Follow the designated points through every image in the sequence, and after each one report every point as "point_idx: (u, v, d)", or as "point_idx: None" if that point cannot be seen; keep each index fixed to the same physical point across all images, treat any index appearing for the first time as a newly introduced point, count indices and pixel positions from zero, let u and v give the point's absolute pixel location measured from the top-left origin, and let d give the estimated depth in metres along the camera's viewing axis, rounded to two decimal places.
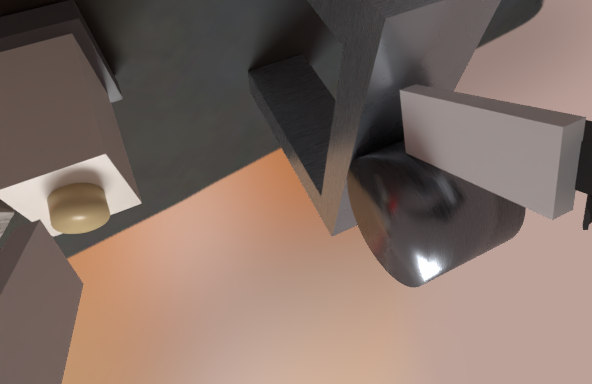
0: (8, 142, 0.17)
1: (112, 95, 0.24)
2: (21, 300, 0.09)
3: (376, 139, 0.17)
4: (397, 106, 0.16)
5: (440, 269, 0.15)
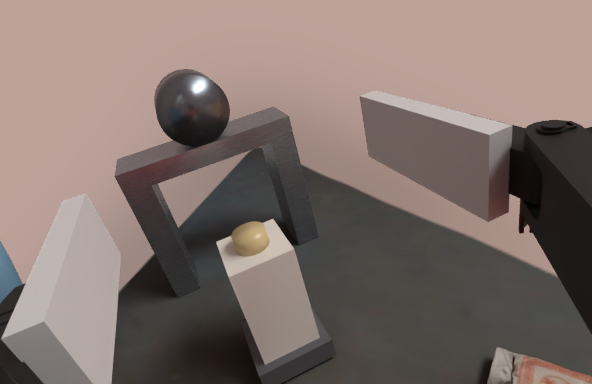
0: None
1: None
2: (81, 258, 0.10)
3: (185, 147, 0.36)
4: (165, 152, 0.36)
5: (172, 79, 0.33)
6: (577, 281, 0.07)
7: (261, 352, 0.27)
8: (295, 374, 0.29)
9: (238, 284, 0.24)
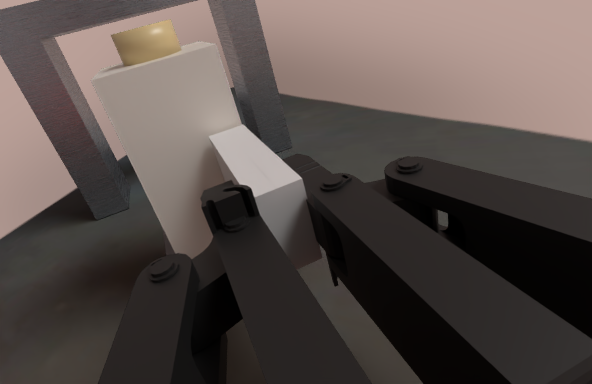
0: None
1: None
2: None
3: None
4: None
5: None
6: (401, 338, 0.07)
7: (174, 246, 0.17)
8: None
9: (112, 100, 0.13)
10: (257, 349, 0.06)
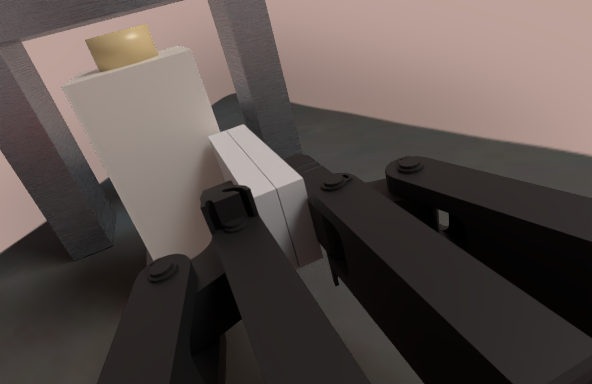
0: None
1: None
2: None
3: None
4: None
5: None
6: (401, 338, 0.07)
7: (153, 254, 0.16)
8: None
9: (84, 106, 0.13)
10: (256, 350, 0.06)
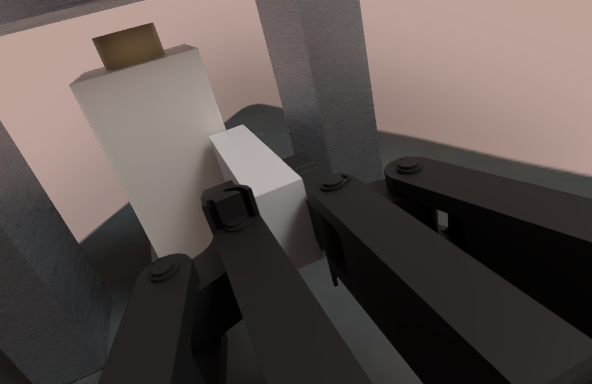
0: None
1: None
2: None
3: None
4: None
5: None
6: (400, 338, 0.07)
7: (158, 252, 0.16)
8: None
9: (92, 105, 0.13)
10: (257, 349, 0.06)
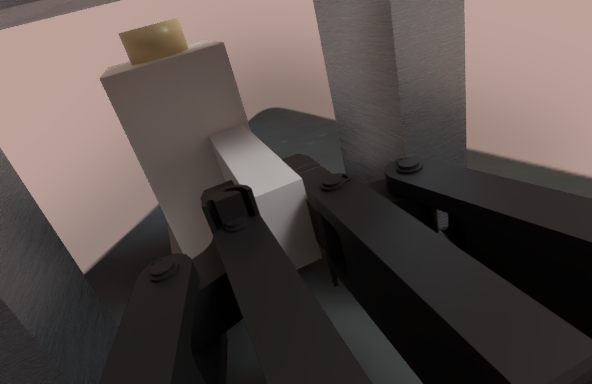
0: None
1: None
2: None
3: None
4: None
5: None
6: (400, 338, 0.07)
7: (181, 244, 0.17)
8: None
9: (120, 98, 0.14)
10: (257, 349, 0.06)
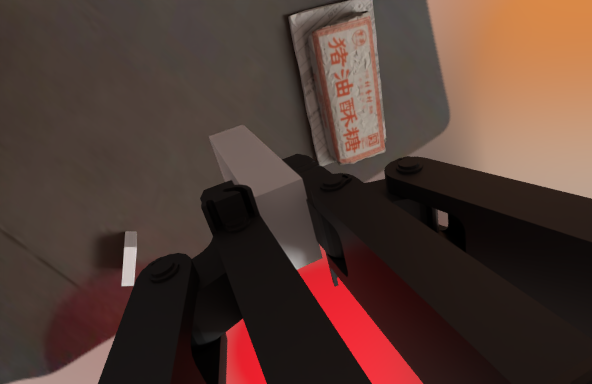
0: None
1: None
2: None
3: None
4: None
5: None
6: (400, 338, 0.07)
7: None
8: None
9: None
10: (257, 349, 0.06)
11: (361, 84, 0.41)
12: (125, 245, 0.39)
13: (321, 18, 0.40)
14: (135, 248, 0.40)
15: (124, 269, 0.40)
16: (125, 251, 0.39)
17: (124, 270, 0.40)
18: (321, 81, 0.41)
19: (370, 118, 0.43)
